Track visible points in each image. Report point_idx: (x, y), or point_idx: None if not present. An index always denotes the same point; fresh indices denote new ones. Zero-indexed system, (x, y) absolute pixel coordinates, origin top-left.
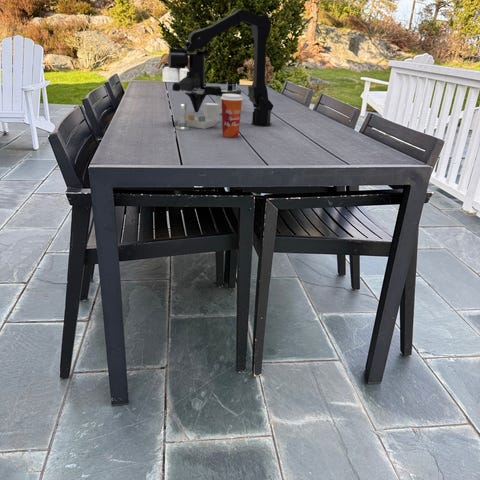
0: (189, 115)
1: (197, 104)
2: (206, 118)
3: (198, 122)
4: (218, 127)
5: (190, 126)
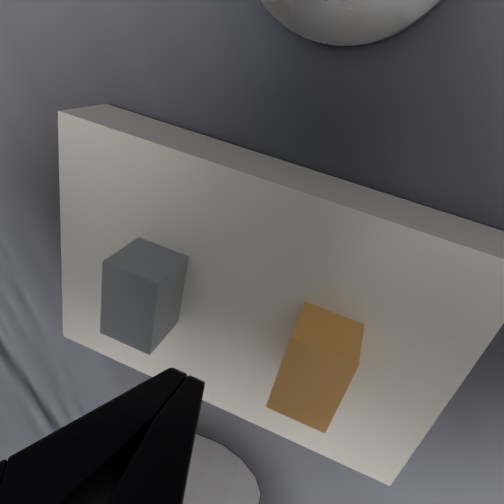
0: (320, 349)
1: (31, 454)
2: (216, 478)
3: (143, 146)
4: (43, 246)
5: (293, 165)
